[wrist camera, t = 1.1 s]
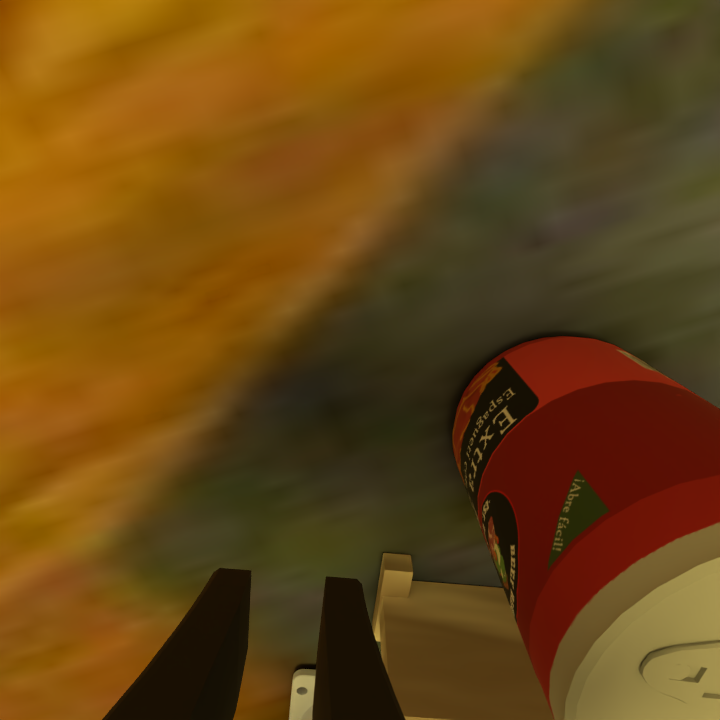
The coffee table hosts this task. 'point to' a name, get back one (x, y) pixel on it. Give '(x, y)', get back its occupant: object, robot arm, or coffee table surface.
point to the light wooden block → (453, 649)
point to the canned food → (600, 525)
